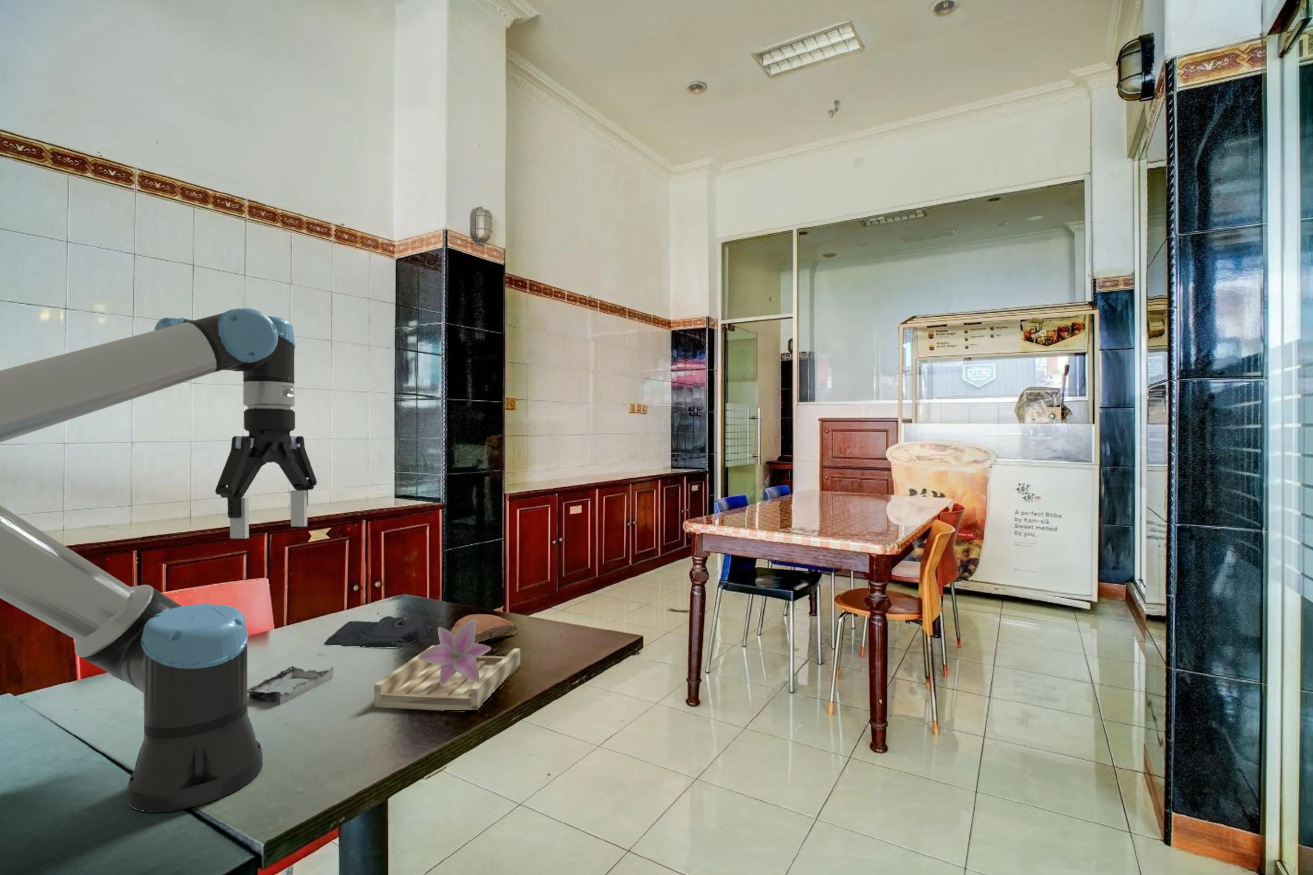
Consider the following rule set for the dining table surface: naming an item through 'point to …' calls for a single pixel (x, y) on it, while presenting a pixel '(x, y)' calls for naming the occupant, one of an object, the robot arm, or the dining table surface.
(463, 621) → the ceramic shard
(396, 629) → the dark block with eyelet
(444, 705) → the drying rack
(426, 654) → the lily
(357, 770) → the dining table surface
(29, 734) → the dining table surface
